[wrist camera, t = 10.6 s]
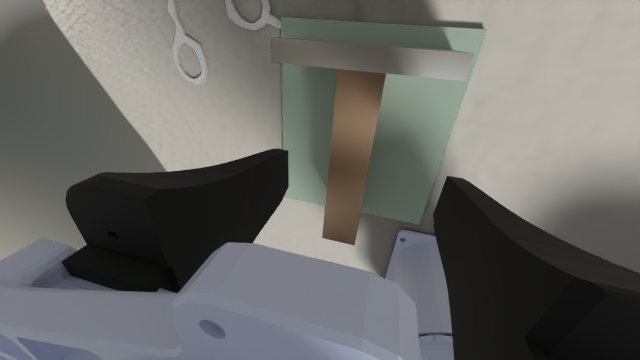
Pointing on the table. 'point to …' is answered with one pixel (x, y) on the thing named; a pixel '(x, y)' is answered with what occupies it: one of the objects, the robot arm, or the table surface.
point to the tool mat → (393, 121)
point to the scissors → (183, 38)
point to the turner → (360, 109)
